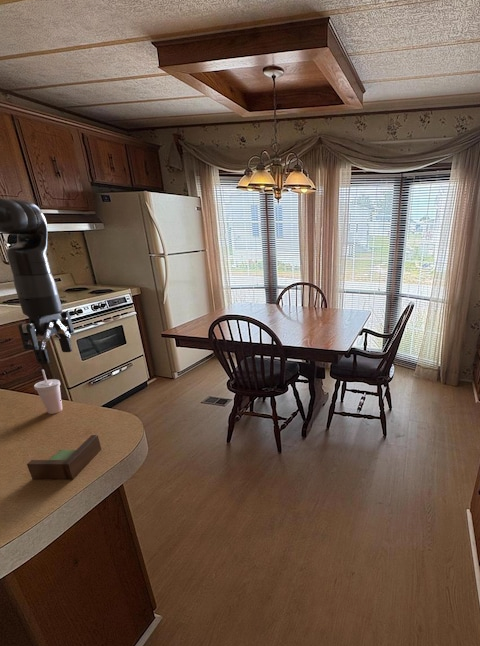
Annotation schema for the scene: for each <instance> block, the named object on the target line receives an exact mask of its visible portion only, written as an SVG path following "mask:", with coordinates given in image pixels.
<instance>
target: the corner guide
mask: <svg viewBox="0 0 480 646" xmlns="http://www.w3.org/2000/svg"><path fill="white" fill-rule="evenodd" d="M101 450H102V446H101V443H100V438H99V435H98V434H91V435H90V436H89V437H88V438H87V439H86V440H85V441H84V442H83V443H82V444H81V445H80V446H78V448H76V449H58V451H56V453H55V454H53V455H52V456H51V457H49V459H31V460H30V461H29V462H27V463H26V466H27V469H28V471H29V474H30V477H31V479H32V481H33V480H34V481H40V480H42V481H43V480H48V481H51V480H52V481H53V480H65V481H67V480H68V481H69V480H70V481H71V480H72V481H73V480H74V479H76V478H77V476H78V475H80V473H81V472H82V471H83V470H84V468H85V467H86V466H88V464H89V463H90V462H91V461H92V460H93V459H94V458H95V457H96V456H97V455H98V454H99V452H100V451H101Z"/></svg>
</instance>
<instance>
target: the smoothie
mask: <svg viewBox="0 0 480 646" xmlns="http://www.w3.org/2000/svg"><path fill="white" fill-rule="evenodd" d="M41 372H42V376H43V380H40V381H38V382H36V383H35V384H34V385H33V389H34V390H35V391H36V392H37V394H38V396H39V399H40V400H41V402H42V404H43V405H44V408H45V410H46V411H47V413H48V414H49V415H50V414H51V415H53V414H58V413H60V412H62V411H63V402H62V394H61V387H60V386H61V381H60V380H59V379H55V378H51V379H47V376H46V372H45V369H41ZM60 400H61V401H60Z"/></svg>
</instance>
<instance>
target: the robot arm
mask: <svg viewBox="0 0 480 646" xmlns="http://www.w3.org/2000/svg"><path fill="white" fill-rule="evenodd" d="M0 233H1V234H5V235H16V236H17V237H16V244H14V245H12V246H10V247H8V248H7V249H6V258H7V261H8V264H9V267H10V271H11V274H12V279H13V285H14V289H15V291H16V295H17V298H18V302H19V305H20V308H21V312H22V314H23V315H24V316H27V317H28V320H29V322H28V323H19V324H18V327H17V328H18V331H19V334H20V338H21V342H22V346H23V349H24V350H26V351H28V350H29V351H33V353H34V355H35V359H36V362H37V363H38V364H39V365H49V364H50V363H51V361H50V358H49V354H48V351H47V348H46V346H47V342H49V341H50V338H51V337H52V336H53V335H55V336H56V337H58V342H59V344H60V349H61V352H63V353H71V352H73V346H72V343H71V336H72V334H75V329H74V325H73V322H72V318H71V314H70V312H69V311H63V306H62V303H61V298H60V294H59V291H58V287H57V283H56V280H55V278H54V276H53V273H52V269H51V265H50V261H49V258H48V253H47V252H48V223H47V219H46V217H45V214H44V213H43V211H42V210H41V208H40V207H39V206H38V205H37V204H35V203H34V202H32V201H30V200H27V199H16V198H15V199H14V198H6V197H5V198H4V197H0ZM66 326H67V327H66Z"/></svg>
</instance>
